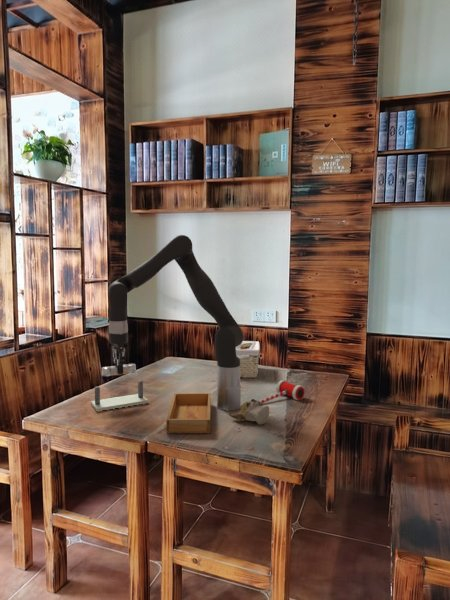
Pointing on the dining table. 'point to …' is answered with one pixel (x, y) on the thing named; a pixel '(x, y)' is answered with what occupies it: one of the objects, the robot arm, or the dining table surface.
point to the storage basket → (248, 358)
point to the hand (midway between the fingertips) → (119, 372)
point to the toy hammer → (287, 391)
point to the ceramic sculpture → (252, 412)
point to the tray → (189, 413)
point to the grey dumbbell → (113, 370)
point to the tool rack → (119, 399)
